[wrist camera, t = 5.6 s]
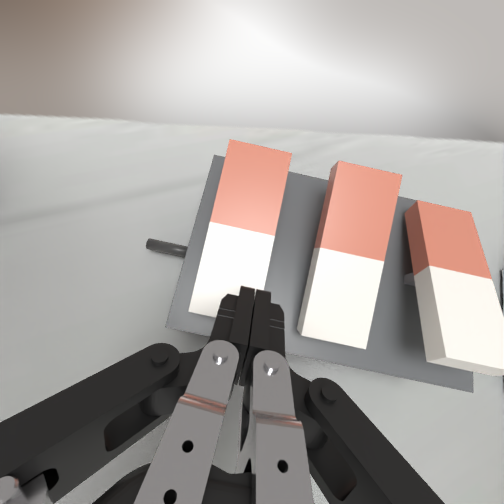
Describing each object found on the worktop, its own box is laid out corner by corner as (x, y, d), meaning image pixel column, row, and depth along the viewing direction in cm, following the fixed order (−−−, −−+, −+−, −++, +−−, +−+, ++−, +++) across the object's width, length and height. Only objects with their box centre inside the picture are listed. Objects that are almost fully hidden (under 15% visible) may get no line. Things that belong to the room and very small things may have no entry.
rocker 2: (296, 328, 22) (301, 335, 20) (331, 168, 22) (338, 160, 20) (355, 341, 22) (365, 349, 20) (389, 181, 22) (402, 174, 20)
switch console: (130, 315, 30) (78, 309, 20) (171, 186, 34) (147, 126, 24) (404, 374, 30) (491, 397, 20) (410, 239, 35) (484, 202, 25)
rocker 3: (426, 361, 18) (446, 357, 17) (404, 213, 25) (417, 200, 23) (495, 376, 18) (521, 373, 17) (455, 224, 25) (470, 212, 24)
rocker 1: (192, 309, 21) (188, 311, 19) (230, 150, 22) (229, 139, 21) (254, 322, 21) (256, 326, 19) (287, 163, 22) (292, 153, 21)
